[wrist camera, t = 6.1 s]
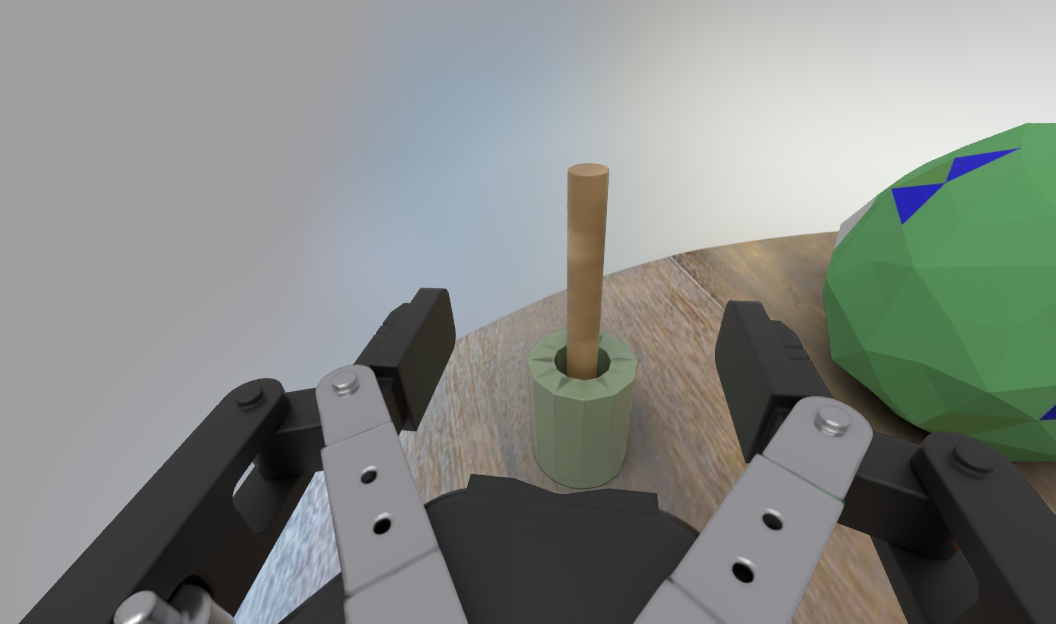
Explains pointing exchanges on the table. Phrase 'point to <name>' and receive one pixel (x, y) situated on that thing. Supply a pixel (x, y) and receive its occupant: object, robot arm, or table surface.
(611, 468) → the crock
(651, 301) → the table surface
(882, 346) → the decorative sphere
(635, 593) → the robot arm
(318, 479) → the table surface
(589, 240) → the stick
